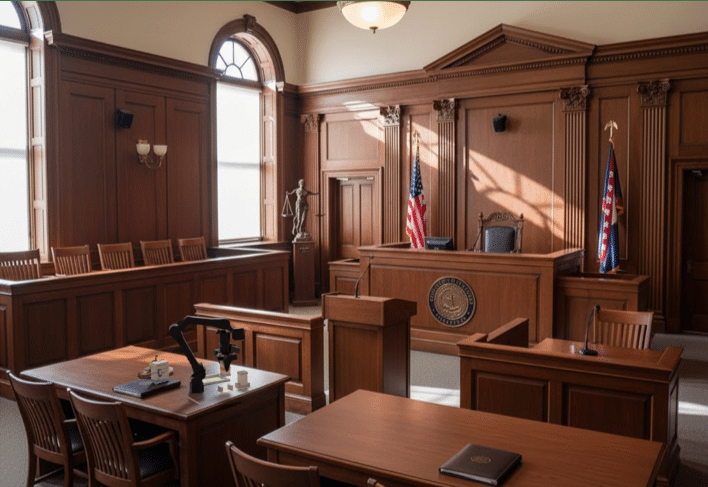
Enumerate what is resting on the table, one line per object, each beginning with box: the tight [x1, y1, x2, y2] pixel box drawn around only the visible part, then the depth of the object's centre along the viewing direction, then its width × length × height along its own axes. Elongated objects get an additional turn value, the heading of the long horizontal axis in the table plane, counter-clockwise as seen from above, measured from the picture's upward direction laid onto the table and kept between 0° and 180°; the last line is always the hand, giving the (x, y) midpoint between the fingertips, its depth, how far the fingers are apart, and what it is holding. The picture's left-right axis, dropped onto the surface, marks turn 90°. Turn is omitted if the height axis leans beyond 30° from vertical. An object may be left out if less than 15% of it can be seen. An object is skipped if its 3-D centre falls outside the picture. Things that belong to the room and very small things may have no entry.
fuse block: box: [215, 381, 253, 394], centre depth 352 cm, size 18×9×3 cm, turn 126°
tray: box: [202, 372, 231, 386], centre depth 368 cm, size 15×15×2 cm
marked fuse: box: [219, 360, 232, 378], centre depth 349 cm, size 4×4×8 cm
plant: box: [137, 354, 175, 379], centre depth 386 cm, size 20×20×11 cm
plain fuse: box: [236, 370, 249, 388], centre depth 355 cm, size 4×4×8 cm
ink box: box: [150, 359, 170, 382], centre depth 366 cm, size 9×5×12 cm, turn 143°
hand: (225, 370), depth 349 cm, fingers closed on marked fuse, 4 cm apart
